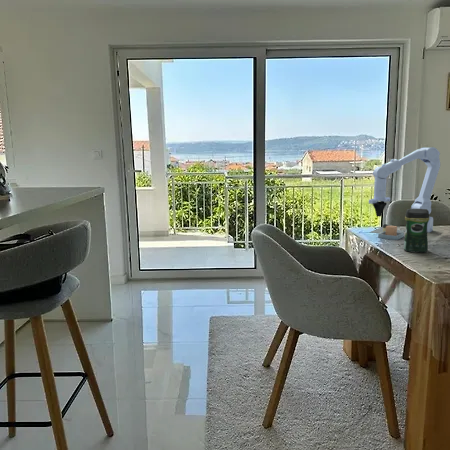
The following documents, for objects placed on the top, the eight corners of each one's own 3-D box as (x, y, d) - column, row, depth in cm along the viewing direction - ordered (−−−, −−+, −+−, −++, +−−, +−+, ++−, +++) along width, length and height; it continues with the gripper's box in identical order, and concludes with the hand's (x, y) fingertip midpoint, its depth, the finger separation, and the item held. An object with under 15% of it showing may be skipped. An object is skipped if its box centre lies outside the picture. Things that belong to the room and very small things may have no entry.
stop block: (396, 238, 195) (397, 226, 194) (393, 239, 192) (394, 227, 191) (388, 237, 198) (388, 225, 197) (385, 238, 195) (385, 226, 194)
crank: (386, 230, 210) (386, 221, 209) (391, 230, 208) (391, 222, 208) (381, 233, 203) (381, 224, 202) (386, 234, 201) (387, 224, 200)
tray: (403, 239, 196) (404, 233, 195) (397, 242, 189) (397, 236, 188) (385, 236, 202) (385, 230, 201) (377, 240, 195) (378, 234, 194)
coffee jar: (426, 249, 175) (429, 207, 172) (428, 253, 168) (431, 210, 165) (402, 247, 179) (405, 207, 175) (403, 252, 172) (405, 209, 168)
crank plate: (406, 233, 209) (406, 230, 209) (396, 237, 199) (397, 235, 198) (379, 230, 218) (379, 227, 218) (369, 234, 208) (369, 232, 208)
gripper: (377, 191, 198) (376, 218, 200) (395, 189, 205) (394, 215, 207) (365, 190, 204) (364, 216, 206) (384, 188, 211) (383, 214, 213)
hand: (378, 216), depth 207 cm, fingers closed
